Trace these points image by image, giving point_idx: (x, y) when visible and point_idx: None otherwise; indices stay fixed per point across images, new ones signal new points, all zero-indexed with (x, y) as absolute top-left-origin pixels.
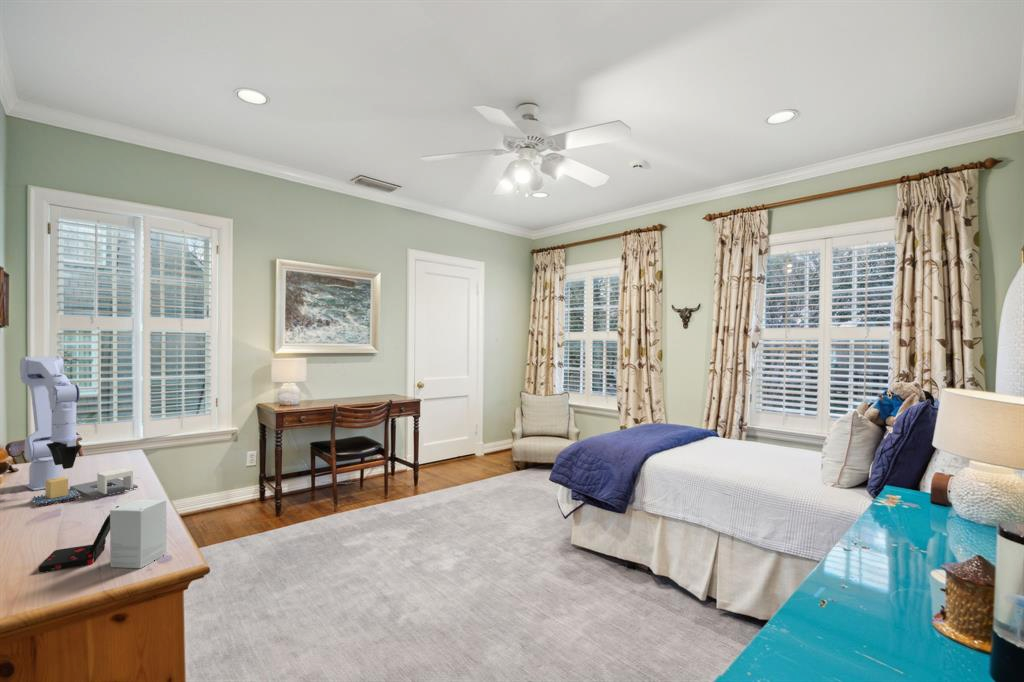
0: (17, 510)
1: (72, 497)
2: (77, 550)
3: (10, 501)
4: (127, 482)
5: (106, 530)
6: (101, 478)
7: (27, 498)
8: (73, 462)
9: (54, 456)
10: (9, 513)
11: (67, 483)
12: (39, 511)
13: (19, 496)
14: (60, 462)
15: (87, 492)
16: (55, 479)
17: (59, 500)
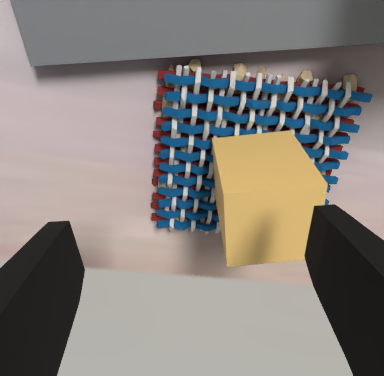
0: (275, 264)
1: (338, 116)
2: None
3: (100, 264)
4: None
5: None
6: None
7: (97, 224)
8: (373, 238)
9: (56, 363)
10: (292, 281)
11: (313, 168)
12: (374, 226)
13: (28, 238)
14: (71, 260)
15: (320, 33)
16: (268, 234)
17: (334, 168)
